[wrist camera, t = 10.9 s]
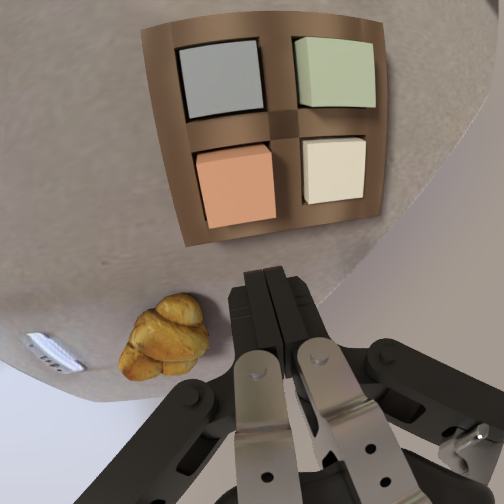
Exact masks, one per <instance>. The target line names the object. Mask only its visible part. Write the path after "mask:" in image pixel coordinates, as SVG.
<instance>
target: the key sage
mask: <svg viewBox="0 0 504 504" xmlns="http://www.w3.org/2000/svg"><path fill="white" fill-rule="evenodd" d="M293 49H294V58H295V69H296V80H297V92H298V103H300V104H304V105H308V106H311V107H319V106H351V107H376V96H375V68H374V53H373V44H371V43H365V42H358V41H351V40H342V39H332V38H318V37H305V38H302V39H300V40H297V41H295V42H293Z"/></svg>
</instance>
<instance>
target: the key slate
mask: <svg viewBox="0 0 504 504" xmlns="http://www.w3.org/2000/svg"><path fill="white" fill-rule="evenodd" d="M179 52H180V59H181V66H182V73H183V79H184V86H185V92H186V99H187V105H188V111H189V117H190V118H194V117H200V116H205V115H211V114H217V113H224V112H231V111H238V110H246V109H255V108H263V100H262V90H261V81H260V72H259V63H258V54H257V46H256V40H255V41H242V42H232V43H223V44H215V45H208V46H202V47H196V48H190V49H185V50H180V51H179Z"/></svg>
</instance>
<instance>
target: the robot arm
mask: <svg viewBox="0 0 504 504" xmlns="http://www.w3.org/2000/svg"><path fill="white" fill-rule="evenodd" d="M243 274H244V280H245V286H240V287H234V288H232V290H231V292H230V294H229V297H228V303H229V311H230V319H231V327H232V335H233V342H234V350H235V360H234V363H233V365H232V367H231V368H230V369H229V370H228V371H227V372H226V373H225V374H223V375H222V376H220V377H218V378H216V379H213V380H211V381H209V382H207V383H205V382H204V381H201V380H198V379H188V380H184V381H182V382H180V383H178V384H177V385H176V386H175V387H174V388H173V389H172V390H171V391H170V392H169V394H168V395H167V396H166V397H165V398H164V400H163V401H162V402H161V403H160V405H159V406H158V407H157V408H156V409H155V411H154V412H153V413H152V414H151V415H150V417H149V418H148V419H147V420H146V422H144V424H143V425H142V426H141V427H140V428H139V429H138V431H137V432H136V433H135V435H133V437H132V438H131V439H130V440H129V441H128V442H127V444H126V445H125V446H124V447H123V448H122V449H121V451H120V452H119V453H118V454H117V455H116V457H114V459H113V460H112V461H111V462H110V463H109V464H108V465H107V467H106V468H105V469H104V470H103V471H102V472H101V473H100V474H99V476H98V477H97V478H96V479H95V480H94V481H93V482H92V484H91V485H90V486H89V487H88V488H87V489H86V490H85V491H84V492H83V493H82V494H81V496H80V497H79V498H78V499H77V500H76V501H75V502H74V503H73V504H176V502H177V501H178V500H179V498H181V496H182V495H183V494H184V493H185V491H186V490H187V489H188V488H189V486H190V485H191V484H192V483H193V481H194V480H195V479H196V478H197V476H198V475H199V474H200V472H201V471H202V470H203V468H204V467H205V466H206V465H207V463H208V462H209V460H210V459H211V458H212V456H213V455H214V454H215V452H216V451H217V449H218V448H219V447H220V445H221V444H222V443H223V441H224V440H225V438H226V437H227V435H228V434H229V433H231V432H233V431H235V430H236V432H235V437H234V447H235V463H236V478H237V486H235V487H233V488H232V489H230V490H228V491H227V492H226V493H225V494H223V495H222V496H221V497H220V498H219V499H218V500H217V501H216V502H215V504H495V499H494V495H493V493H492V491H491V490H490V488H488V487H487V485H488V483H489V481H490V479H491V476H492V474H493V471H494V469H495V466H496V464H497V461H498V458H499V455H500V452H501V450H502V446H503V444H504V392H503V391H501V390H499V389H497V388H495V387H492V386H490V385H488V384H486V383H484V382H481V381H479V380H477V379H475V378H473V377H471V376H468V375H467V374H465V373H462V372H460V371H458V370H456V369H454V368H452V367H450V366H448V365H446V364H443V363H441V362H439V361H437V360H435V359H433V358H431V357H429V356H427V355H425V354H422V353H421V352H419V351H416V350H414V349H412V348H410V347H408V346H406V345H404V344H402V343H400V342H398V341H396V340H393V339H388V338H384V339H379V340H377V341H376V342H374V343H373V344H372V345H371V346H370V347H369V348H346V347H343V346H340V345H338V344H336V343H335V342H334V341H332V340H331V338H330V337H329V335H328V333H327V332H326V329H325V326H324V324H323V322H322V319H321V317H320V315H319V312H318V310H317V308H316V305H315V304H314V301H313V298H312V296H311V294H310V292H309V289H308V287H307V285H306V283H305V282H303V281H302V280H301V279H300V278H299V277H298V276H294V277H289V278H286V275H285V273H284V270H283V267H282V266H276V267H270V268H265V269H263V271H262V269H260V270H254V271H248V272H243ZM284 374H285V377H286V378H292V377H293V381H294V384H295V388H296V389H295V394H296V398H297V401H298V404H299V407H300V409H301V412H302V415H303V417H304V420H305V423H306V425H307V428H308V431H309V433H310V436H311V439H312V445H313V450H314V454H315V456H316V459H317V462H318V464H319V467H320V471H318V472H298V468H297V461H296V455H295V449H294V442H293V436H292V431H291V427H290V424H289V418H288V412H287V406H286V399H285V393H284V387H283V379H284ZM387 421H388V422H391V423H392V424H394V425H396V426H398V427H400V428H402V429H404V430H406V431H408V432H410V433H412V434H414V435H416V436H418V437H420V438H422V439H425V440H427V441H429V442H431V443H433V444H436V445H438V446H439V452H438V457H439V459H440V460H442V461H443V462H444V463H445V464H447V465H448V466H449V467H450V468H451V470H452V471H451V470H449V469H446V468H444V467H442V466H440V465H438V464H436V463H434V462H431V461H430V460H428V459H426V458H424V457H422V456H420V455H418V454H416V453H414V452H412V451H409V450H406V449H403V448H400V446H399V444H398V442H397V440H396V438H395V436H394V434H393V432H392V429H391V428H390V426H389V424H388V422H387Z"/></svg>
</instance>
